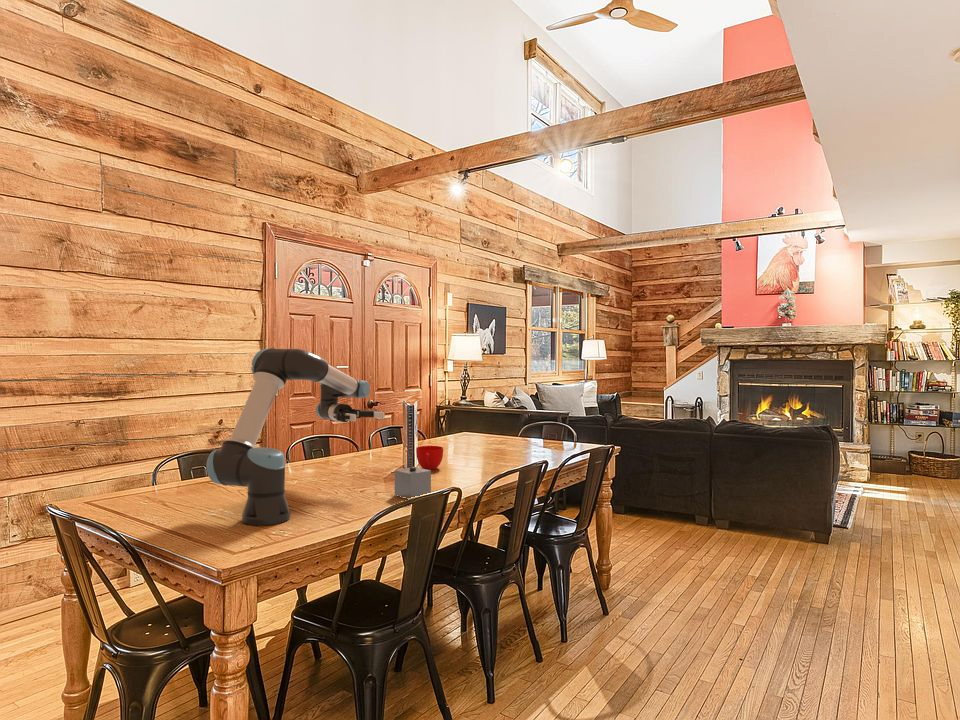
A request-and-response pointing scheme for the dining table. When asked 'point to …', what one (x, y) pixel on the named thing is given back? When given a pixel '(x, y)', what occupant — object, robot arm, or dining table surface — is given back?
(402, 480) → the metal cover
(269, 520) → the robot arm
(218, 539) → the dining table surface
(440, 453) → the ceramic cup
